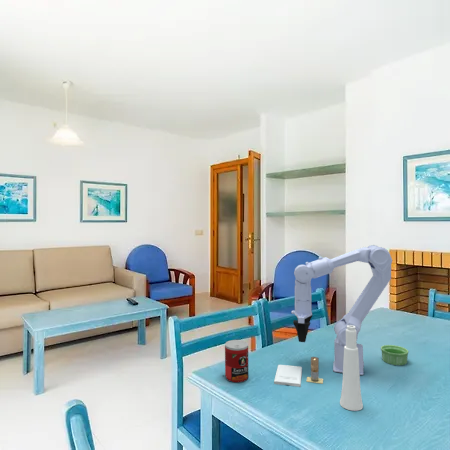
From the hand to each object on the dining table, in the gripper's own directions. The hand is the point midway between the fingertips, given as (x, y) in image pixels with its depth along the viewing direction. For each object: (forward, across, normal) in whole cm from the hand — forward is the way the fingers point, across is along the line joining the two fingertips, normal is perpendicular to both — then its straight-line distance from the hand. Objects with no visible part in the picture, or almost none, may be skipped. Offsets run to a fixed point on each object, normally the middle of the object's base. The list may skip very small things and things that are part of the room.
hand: (303, 338), depth 121 cm
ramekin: (+10, -14, +31) cm, 36 cm away
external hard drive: (+11, +10, -4) cm, 15 cm away
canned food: (+10, +15, -20) cm, 27 cm away
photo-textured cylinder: (+10, +10, +4) cm, 15 cm away
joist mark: (+10, +10, +4) cm, 15 cm away
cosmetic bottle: (+10, +22, +15) cm, 28 cm away
